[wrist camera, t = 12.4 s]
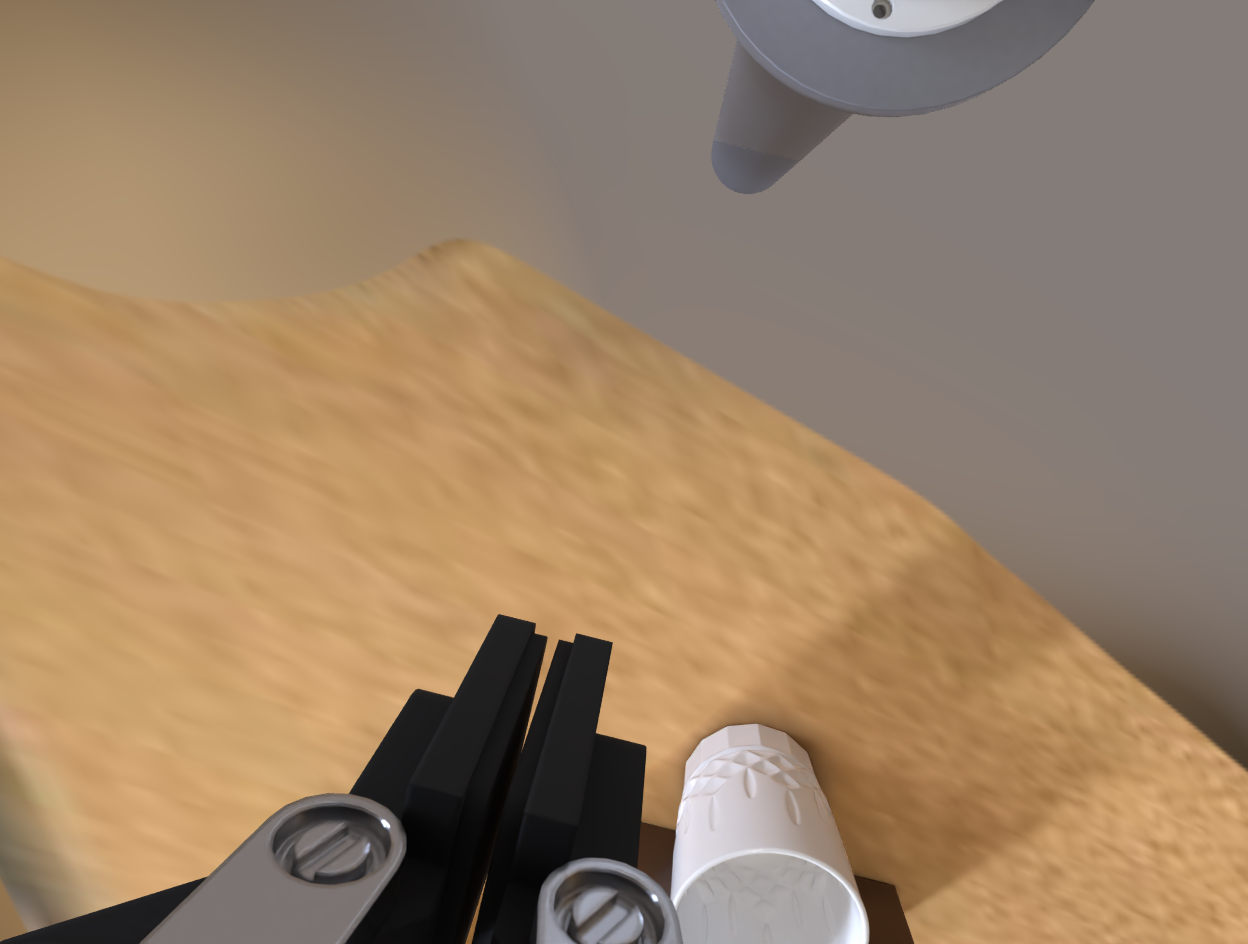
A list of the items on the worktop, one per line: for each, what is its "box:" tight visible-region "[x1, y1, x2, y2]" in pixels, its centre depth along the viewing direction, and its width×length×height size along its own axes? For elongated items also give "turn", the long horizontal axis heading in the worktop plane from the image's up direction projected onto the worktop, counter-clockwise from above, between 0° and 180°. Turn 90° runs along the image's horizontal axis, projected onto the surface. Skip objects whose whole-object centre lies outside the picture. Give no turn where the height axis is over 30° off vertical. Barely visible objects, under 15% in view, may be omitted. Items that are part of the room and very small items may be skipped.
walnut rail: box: [637, 823, 914, 944], centre depth 41 cm, size 3×16×5 cm, turn 77°
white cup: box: [670, 724, 869, 944], centre depth 37 cm, size 8×8×10 cm
